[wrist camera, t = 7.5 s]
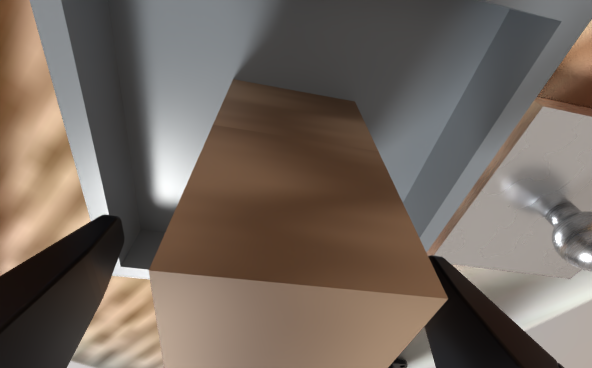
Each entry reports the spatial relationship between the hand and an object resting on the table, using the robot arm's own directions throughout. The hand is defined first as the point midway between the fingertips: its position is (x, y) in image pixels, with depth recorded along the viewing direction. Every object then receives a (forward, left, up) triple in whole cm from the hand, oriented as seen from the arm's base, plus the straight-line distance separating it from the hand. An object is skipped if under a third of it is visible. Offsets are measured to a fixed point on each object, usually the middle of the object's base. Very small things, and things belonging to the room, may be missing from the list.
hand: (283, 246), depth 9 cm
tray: (0, 0, -7) cm, 7 cm away
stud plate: (-1, -15, -7) cm, 17 cm away
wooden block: (0, 0, -6) cm, 6 cm away
